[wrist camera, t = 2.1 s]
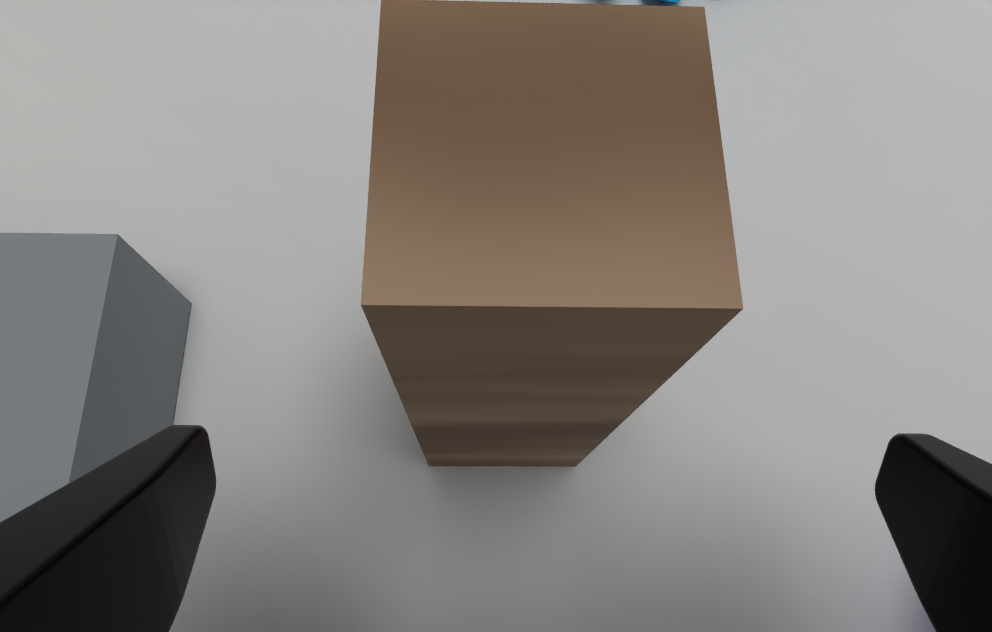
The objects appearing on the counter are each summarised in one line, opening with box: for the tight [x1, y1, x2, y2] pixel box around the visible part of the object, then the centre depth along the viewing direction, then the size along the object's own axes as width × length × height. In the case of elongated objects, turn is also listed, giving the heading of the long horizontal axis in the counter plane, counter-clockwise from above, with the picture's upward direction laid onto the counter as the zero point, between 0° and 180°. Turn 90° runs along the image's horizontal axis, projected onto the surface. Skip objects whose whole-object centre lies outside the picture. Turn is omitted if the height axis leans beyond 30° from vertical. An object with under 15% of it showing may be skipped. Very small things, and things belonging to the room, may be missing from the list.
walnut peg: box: [361, 0, 743, 466], centre depth 14 cm, size 4×4×12 cm
